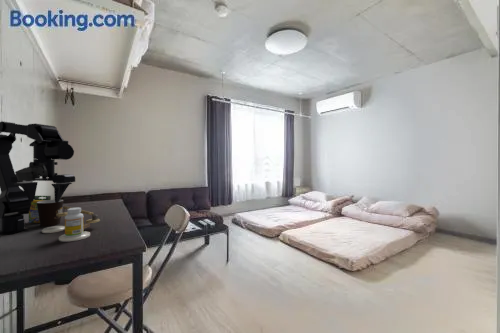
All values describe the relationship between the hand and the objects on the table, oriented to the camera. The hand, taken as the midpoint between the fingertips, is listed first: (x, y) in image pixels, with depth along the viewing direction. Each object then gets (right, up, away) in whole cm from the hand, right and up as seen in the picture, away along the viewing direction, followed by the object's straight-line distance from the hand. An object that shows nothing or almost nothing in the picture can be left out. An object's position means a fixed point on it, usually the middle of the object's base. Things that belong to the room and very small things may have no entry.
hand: (44, 201), depth 82 cm
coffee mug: (-10, -12, +16) cm, 23 cm away
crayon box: (-18, -12, +18) cm, 28 cm away
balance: (+5, -12, +10) cm, 17 cm away
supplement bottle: (+12, -12, -1) cm, 17 cm away
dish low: (+12, -13, -1) cm, 17 cm away
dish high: (-2, -12, +7) cm, 14 cm away
